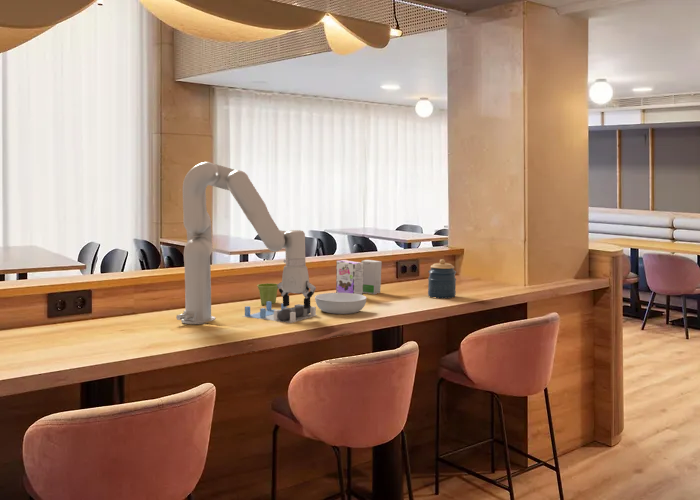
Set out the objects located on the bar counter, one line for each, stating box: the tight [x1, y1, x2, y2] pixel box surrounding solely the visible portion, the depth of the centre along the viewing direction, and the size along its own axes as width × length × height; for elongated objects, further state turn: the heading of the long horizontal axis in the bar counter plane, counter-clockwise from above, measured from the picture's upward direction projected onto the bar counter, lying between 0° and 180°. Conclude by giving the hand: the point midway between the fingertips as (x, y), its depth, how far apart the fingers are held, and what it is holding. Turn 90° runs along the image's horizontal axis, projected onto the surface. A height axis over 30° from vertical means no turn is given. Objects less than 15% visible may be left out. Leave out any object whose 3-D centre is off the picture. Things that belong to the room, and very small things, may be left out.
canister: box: [427, 258, 457, 299], centre depth 323 cm, size 13×13×18 cm
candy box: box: [335, 259, 364, 295], centre depth 321 cm, size 14×6×16 cm, turn 37°
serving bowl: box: [314, 292, 367, 315], centre depth 281 cm, size 21×21×7 cm
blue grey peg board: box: [242, 301, 318, 324], centre depth 269 cm, size 18×23×4 cm
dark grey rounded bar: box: [278, 304, 312, 322], centre depth 265 cm, size 17×4×4 cm, turn 149°
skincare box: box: [360, 259, 383, 295], centre depth 332 cm, size 8×7×16 cm
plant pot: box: [256, 282, 279, 306], centre depth 298 cm, size 9×9×9 cm
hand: (296, 307), depth 265 cm, fingers open, 9 cm apart
